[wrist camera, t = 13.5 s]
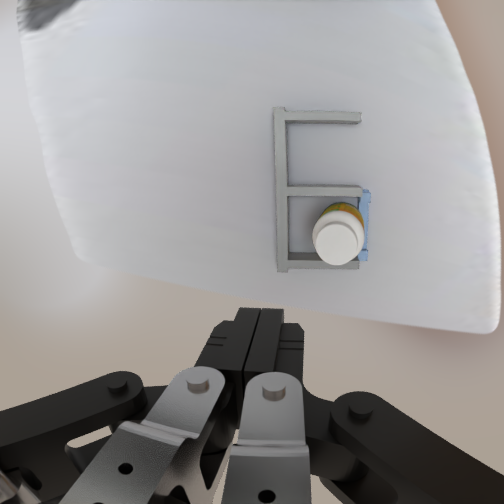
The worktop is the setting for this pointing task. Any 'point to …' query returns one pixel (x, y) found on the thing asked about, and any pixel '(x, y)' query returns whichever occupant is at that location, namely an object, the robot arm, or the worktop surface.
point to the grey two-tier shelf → (304, 187)
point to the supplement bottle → (339, 234)
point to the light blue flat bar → (363, 208)
